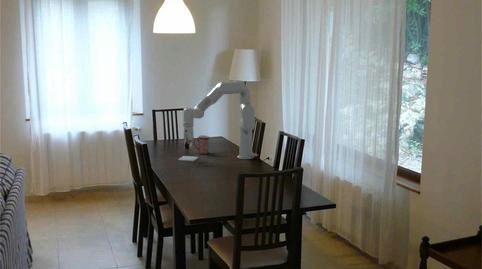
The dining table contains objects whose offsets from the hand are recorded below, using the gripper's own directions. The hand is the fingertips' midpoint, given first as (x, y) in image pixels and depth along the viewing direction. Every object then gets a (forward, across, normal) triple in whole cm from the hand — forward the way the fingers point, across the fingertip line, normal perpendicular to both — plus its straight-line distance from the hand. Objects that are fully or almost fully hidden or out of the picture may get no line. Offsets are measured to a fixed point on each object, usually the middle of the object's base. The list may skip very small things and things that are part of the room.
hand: (188, 148), depth 390 cm
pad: (+8, 0, 0) cm, 8 cm away
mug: (+9, +23, -3) cm, 25 cm away
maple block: (0, 0, 0) cm, 0 cm away
